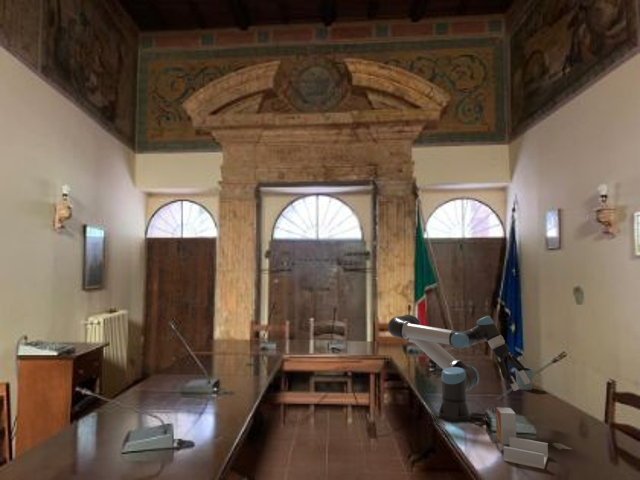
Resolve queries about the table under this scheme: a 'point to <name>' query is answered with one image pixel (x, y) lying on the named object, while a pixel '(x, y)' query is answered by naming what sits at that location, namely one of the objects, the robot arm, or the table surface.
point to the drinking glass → (520, 382)
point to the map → (560, 446)
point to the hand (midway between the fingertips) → (522, 386)
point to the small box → (505, 424)
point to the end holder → (526, 452)
